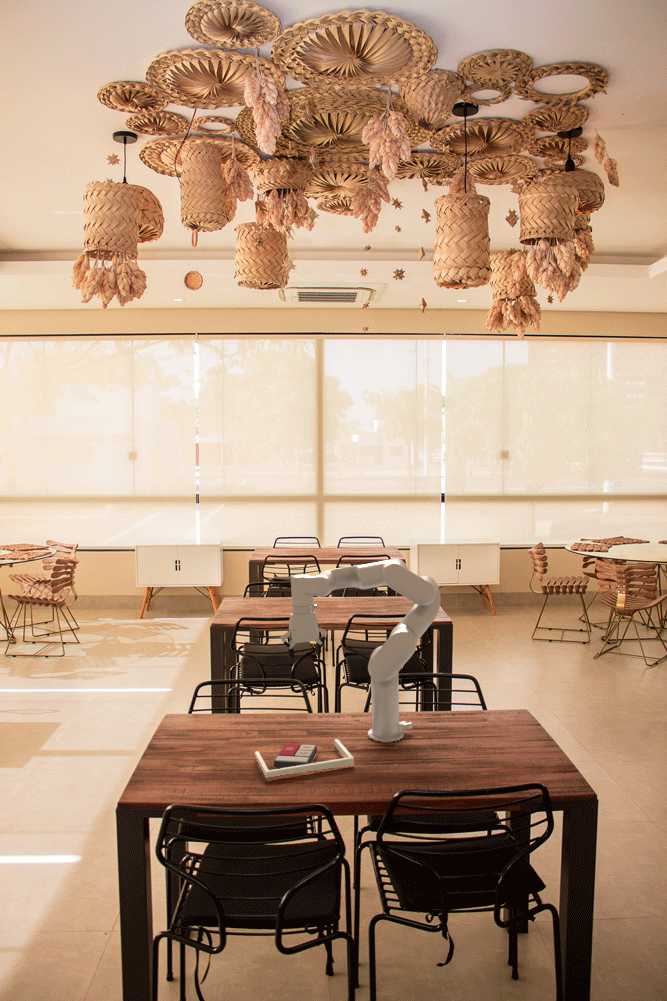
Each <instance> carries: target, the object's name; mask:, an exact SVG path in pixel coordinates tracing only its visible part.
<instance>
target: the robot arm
mask: <svg viewBox="0 0 667 1001" xmlns="http://www.w3.org/2000/svg"><path fill="white" fill-rule="evenodd" d="M407 566H408V565H407V563H405V562H404V561H403V560H402V559H400V558H392V559H385V560H381V561H375V562H369V563H364V564H357V565H351V566H345V567H344V566H343V567H338V568H332V569H326V570H323V571H321V572H319V573H318V574H317V575H314V576H312V575H310V574H307V573H298V574H294V575H292V577H291V578H290V586H291V608H292V612H291V613H290V614H289V622H288V631H287V632H286V633H283V634H282V635H281V636H280V638H279V639H280V640H281V642H282V644H283V645H284V646H286V647H287V650H288V658H289V659H290V660H291V661H294V660H295V650H294V648H293V647H294V646H295V645H296V644H299V643H307V642H313V641H315V642H316V643H315V655H316V656H318V657H321V654H322V644H323V643H324V642H325V640H326V637H327V636H328V633H329V632H328V630H326V629H323V628H321V627H319V623H318V617H317V613H316V611H315V610H316V609H318V605H317V604H315V603H314V597H319V598H320V597H321V598H322V597H323V598H324V597H326V596H328V595H330V594H331V593H332V591H335V590H340V589H347V588H356V589H360V590H369V589H373V588H377V587H384V586H387V587H388V588H390V589H391V590H393V591H395V592H396V593H398V594H399V595H401V596H403V597H404V598H406V599H407V600H409V601H411V602H412V603H413V606H412V607H411V608H410V610H409V611H407V613H406V614H405V616H404V617H403V618H402V619H401V621H400V622H399V623H397V625H396V626H395V627H394V628H393V629H392V630H391V632H390V634H389V637H388V638H387V639H386V641H385V642H384V643H383V645H380V646H378V647H376V648H375V649H374V650H373V651H372V653H371V655H370V658H369V661H368V664H367V671H368V674H369V676H370V684H371V686H370V688H371V689H370V690H371V692H370V693H371V694H370V695H371V728H370V729H369V730H367V737H368V736H369V737H370V738H372V739H374V740H377V741H382V742H381V743H394V742H393V741H395V742H398V741H400V739H401V740H402V739H403V738H404V736H405V732H404V731H405V730H408V729H413V723H412V722H406V721H400V702H399V701H400V698H399V696H400V695H399V694H400V693H399V682H400V681H399V672H400V670H401V669H402V668H403V667H404V666H405V664H406V663H407V662H409V659H411V657H413V655H414V654H415V651H416V649H417V646H418V642H419V640H420V638H421V637H422V636H423V635H424V634H425V632H427V630H428V628H430V626H431V625H432V623H433V622H434V621H435V619H436V617H437V616H438V613H439V611H440V608H441V602H442V601H441V600H442V598H441V597H442V596H441V592H440V589H439V588H440V587H439V585H438V583H437V582H436V580H435V579H434V578H433V577H432V576H429V575H421V576H419V575H418V574H416V573H414V572H413V571H411V570H410V569H408V567H407ZM320 633H321V634H322V635H321V636H320ZM287 638H289V642H288V641H287ZM369 737H368V738H369ZM370 738H369V739H370ZM374 740H373V741H374ZM397 740H398V741H397ZM377 741H376V742H377Z"/></svg>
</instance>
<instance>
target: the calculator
mask: <svg viewBox="0 0 667 1001" xmlns="http://www.w3.org/2000/svg"><path fill="white" fill-rule="evenodd" d="M316 752H317V753H318V746H316V744H301V745H300V744H299V743H298V744H297V743H286V744H285V745H284V746H283V747H282V749H281V750H280V752H279V753H278V755H276V757H275V759H274V760H273V768H274V767H276V768H286V767H292V766H298V765H304V764H310V763H311V762H312V761H313V758H314V756H315V754H316Z"/></svg>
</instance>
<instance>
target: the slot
mask: <svg viewBox="0 0 667 1001" xmlns="http://www.w3.org/2000/svg"><path fill="white" fill-rule="evenodd" d="M333 743H334V747H335V746H336V748H337V749H338V750H339V752H340V753H341V754H342V755H343V757H344V758H342V757H341V758H335V759H330V760H329V759H328V760H325V761H324V760H323V761H318V762H313V763H310V764H304V765H298V766H292V767H286V768H280V769H274V768H273V769H269V768H268V767H267V765H266V762H265V761H264V759H263V757H262V755H261V754H260V751H258V750H257V751H255V752H254V758H255V757H256V759H257V761H258V763H259V765H260V767H261V769H262V771H263V773H264V775H265V777H266V778H268V777H274V776H280V775H286V774H294V773H298V772H307V771H314V770H322V769H328V768H335V767H344V766H351V765H354V766H355V757H354V756H353V755H352V754H351V753H350V751H349V750H348V749H347V748H346V747H345V746H344V745H343V743H342V742H341V741H340V740H339V739H338V738H335V739H334V742H333Z"/></svg>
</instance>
